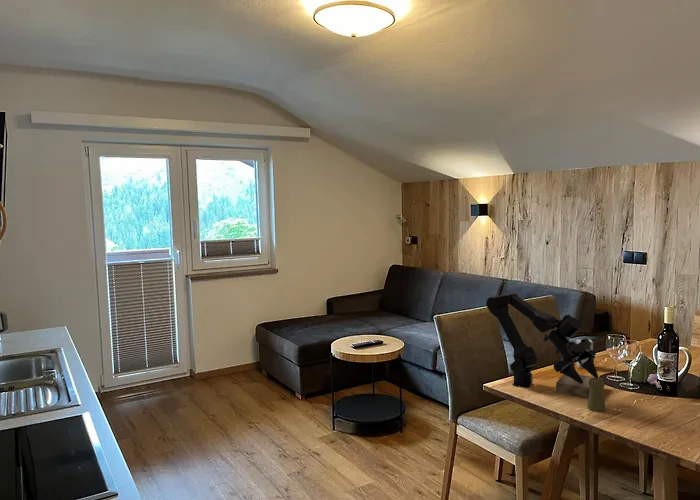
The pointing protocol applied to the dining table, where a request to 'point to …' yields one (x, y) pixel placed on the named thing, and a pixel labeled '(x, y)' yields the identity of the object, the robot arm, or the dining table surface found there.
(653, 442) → the dining table surface
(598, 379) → the cork
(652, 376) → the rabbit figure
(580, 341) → the skincare box
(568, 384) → the walnut plinth
